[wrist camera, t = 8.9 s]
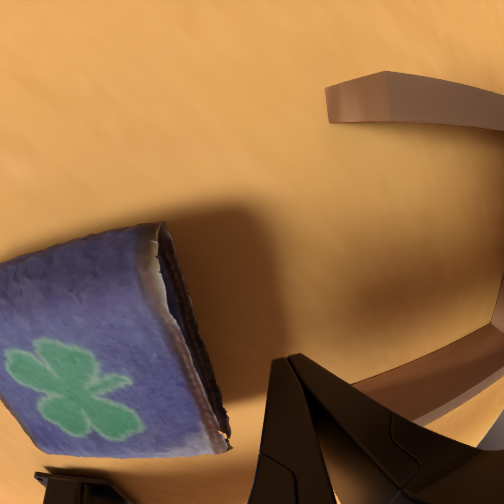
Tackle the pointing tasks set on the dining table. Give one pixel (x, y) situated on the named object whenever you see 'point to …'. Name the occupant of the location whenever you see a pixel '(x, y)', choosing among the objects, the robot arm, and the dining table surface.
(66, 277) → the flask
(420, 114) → the walnut u-shaped fence
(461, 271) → the dining table surface
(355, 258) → the dining table surface
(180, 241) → the dining table surface
